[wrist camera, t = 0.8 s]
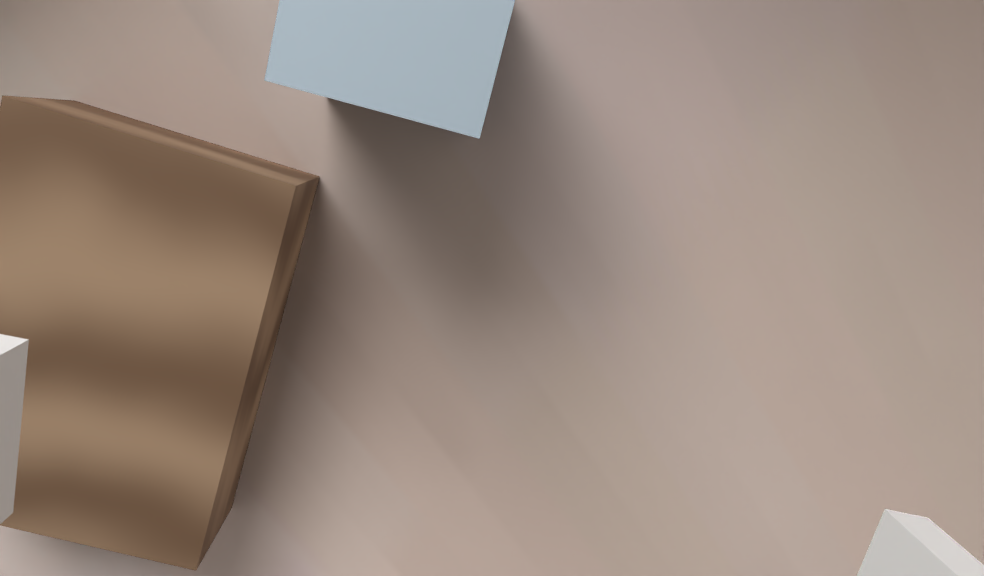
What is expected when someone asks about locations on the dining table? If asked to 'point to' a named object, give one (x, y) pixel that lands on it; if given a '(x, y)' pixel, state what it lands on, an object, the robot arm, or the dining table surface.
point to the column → (394, 55)
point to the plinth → (138, 320)
